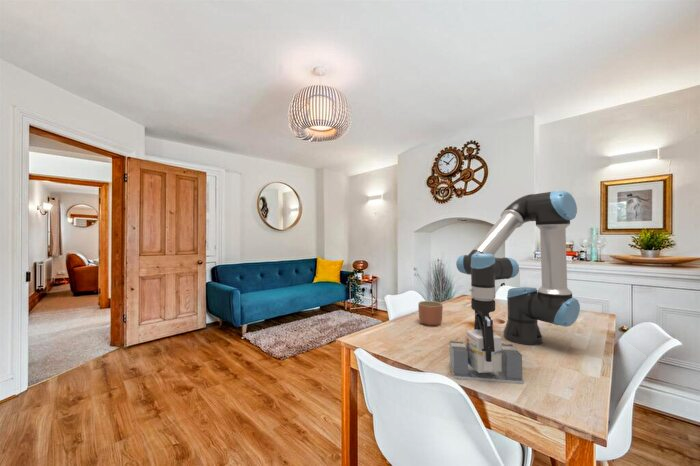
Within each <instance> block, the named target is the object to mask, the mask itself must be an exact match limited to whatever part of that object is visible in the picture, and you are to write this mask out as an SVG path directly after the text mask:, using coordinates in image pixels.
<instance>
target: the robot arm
mask: <svg viewBox="0 0 700 466" xmlns="http://www.w3.org/2000/svg"><path fill="white" fill-rule="evenodd" d="M577 212H578V206H577V203H576V200H575V198H574V197H573V195H572V194H571V193H570V192H569V191H565V190H557V191H556V190H554V191H548V192H542V193H533V194H532V193H531V194H526V195H523V196H521V197H518V198H517V199H515V200H514V201H513V202H511V203H510V204H509V205H508V206H506V207H505V209H504V210H503V211H502V212H501V214H500V218H499V219H498V220H497V221H496V223H494V225H493V226H492V227H491V228H490V229H489V230H488V232H487V233H486V234H485V235H484V236H483V238H482V239H480V241H479V242H478V243H477V244H476V245H475V247H473V248H472V250H471V251H470V252H469V254H462V255H460V256H459V257H458V258H457V259H456V263H455V264H456V269H457V270H458V272H460V273H461V274H466V275H469V276H470V277H471V278H470V280H471V281H470V282H471V283H470V286H471V287H470V288H469V291H470V292H471V297H472V298H471V300H470V301H471V305H470V307H471V309H472V310H473V311H474V326H473V330H482V337H483V345H484V349H482V351H483V370H484V371H493V362H492V352H495V349H494V337H493V333H494V324H493V323H494V320H493V319H492V316H490V313H494V312H496V311H495V310H496V300H495V299H496V281H497V280H509V279H512V278H515V277H516V276H517V275H518V274H519V272H520V266H519V263H518V262H517V260H515V259H514V258H512V257H495V254H496V253H497V252H498V251H499V250H500V249H501V247H502V246H503V245H504V244H505V242H506V241H507V240H508V239H509V237H510V236H511V235H513V233H514V232H515V230H516V229H517V228H520V227H523V225H524V224H525V223H529V222H535V227H537V228H538V229H539V236H540V237H539V239H540V266H541V269H540V270H541V272H540V273H541V286H540V288H538V289H537V287H526V286H523V287H521V286H520V287H512V288H509V289H508V291H507V297H506V299H507V300H506V301H507V321H506V324H505V326H504V330H503V338H504V339H506V340H507V341H510V342H512V343H515V344H521V345H527V346H536V345H541V344H543V335H542V333H541V332H542V331H541V330H540V327H539V324H538V321H540V322H544V323H548V324H552V325H555V326H561V327H566V328H567V327H571V326H573V325H574V324H575V323H576V321H577V320H578V317H579V315H580V309H581V306H580V302H579V299H577V298H574V297H573V291H571V290H570V289H569V288H568V269H567V267H568V265H567V264H568V262H567V235H566V233H567V232H566V231H567V230H566V229H567V228H568V227H569V226H570V225H571V221H572V220H574V219H575V218H576V217H577V214H578V213H577ZM488 347H490V348H488Z"/></svg>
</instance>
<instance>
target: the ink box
mask: <svg viewBox="0 0 700 466" xmlns="http://www.w3.org/2000/svg"><path fill="white" fill-rule="evenodd" d="M465 335H466V336H465V337H466V338H465V339H466V341H465V343H466V344H465V346H466V349H467V351H468V364H469V365H470V366H471V367H473V368H474V369H475V370H476V371H477V372H478V373H484V372H502V342H503V340H502V339H503V338H502V337H501V336H500V335H498V334H496V333H495V332H493V337H494V349H495V352H492V362H493V371H484V370H483V351H482V349H484V345H483V337H482V330H474V329H466V331H465ZM488 348H490V347H488Z"/></svg>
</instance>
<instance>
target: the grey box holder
mask: <svg viewBox="0 0 700 466" xmlns="http://www.w3.org/2000/svg"><path fill="white" fill-rule="evenodd" d="M449 366H450V369H451V373H452V375H453V378H454V379H459V380H469V381H470V380H471V381H480V382H495V383H508V384H519V385H523V384H524V380H523V355H522V354H521V353H520V351H519V349H518V348H517V347H516V346H514V345H513V344H508V343H506V344H502V372H484V373H478V372H477V371H476V370H475V369H474V368H473V367H471V366H470V365H469V364H468V351H467V349H466V344H465V343H464V342H463V341H457V340H456V341H453V340H449Z"/></svg>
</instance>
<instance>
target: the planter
mask: <svg viewBox="0 0 700 466" xmlns="http://www.w3.org/2000/svg"><path fill="white" fill-rule="evenodd" d="M417 308H418V318H419V321H420V323H422V324H423V325H425V326H428V327H429V326H431V327H435V326H439V325H440V324H441V323H442V321H443V308H444V306H443V303H442V302H439V301H437V300H436V301H435V300H423V301H422V300H421V301H419V302H418V307H417Z"/></svg>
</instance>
